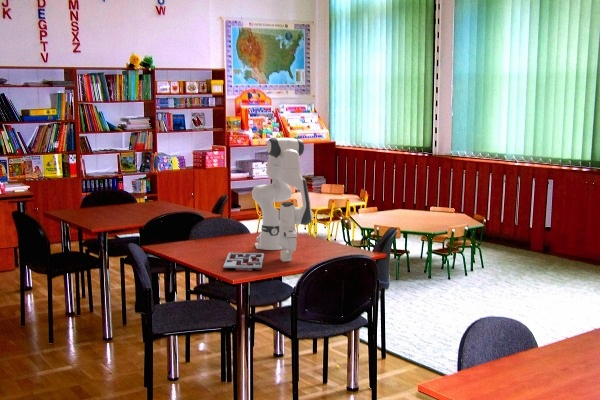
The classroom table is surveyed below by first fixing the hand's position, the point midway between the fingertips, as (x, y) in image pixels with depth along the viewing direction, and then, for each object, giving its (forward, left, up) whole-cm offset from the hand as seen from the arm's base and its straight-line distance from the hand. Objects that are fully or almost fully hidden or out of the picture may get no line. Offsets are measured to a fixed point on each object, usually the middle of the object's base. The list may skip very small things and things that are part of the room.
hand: (287, 256), depth 400 cm
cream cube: (0, -1, -2) cm, 2 cm away
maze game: (+4, -26, -3) cm, 26 cm away
